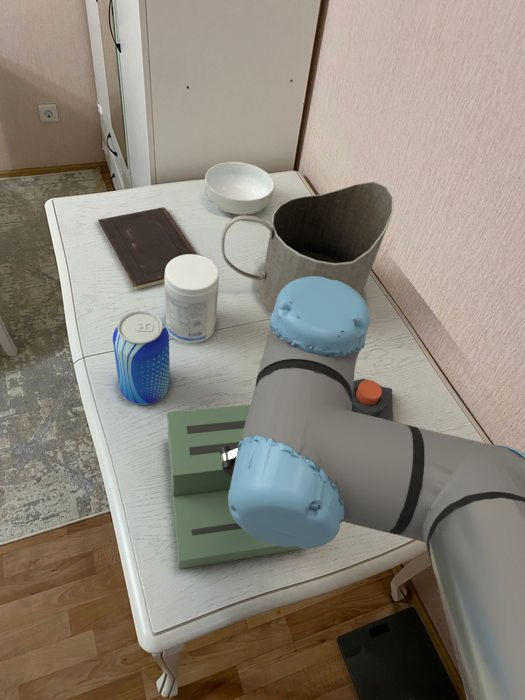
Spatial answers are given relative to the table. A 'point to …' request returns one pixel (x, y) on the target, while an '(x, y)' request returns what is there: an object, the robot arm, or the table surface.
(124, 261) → the hardcover book
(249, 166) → the cereal bowl
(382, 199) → the pitcher
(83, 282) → the table surface
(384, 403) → the control block
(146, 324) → the beer can
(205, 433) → the toaster
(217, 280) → the supplement tub
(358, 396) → the button
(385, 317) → the table surface
